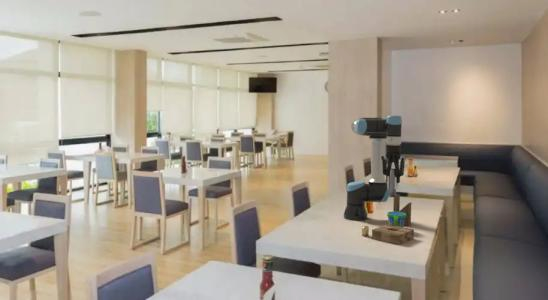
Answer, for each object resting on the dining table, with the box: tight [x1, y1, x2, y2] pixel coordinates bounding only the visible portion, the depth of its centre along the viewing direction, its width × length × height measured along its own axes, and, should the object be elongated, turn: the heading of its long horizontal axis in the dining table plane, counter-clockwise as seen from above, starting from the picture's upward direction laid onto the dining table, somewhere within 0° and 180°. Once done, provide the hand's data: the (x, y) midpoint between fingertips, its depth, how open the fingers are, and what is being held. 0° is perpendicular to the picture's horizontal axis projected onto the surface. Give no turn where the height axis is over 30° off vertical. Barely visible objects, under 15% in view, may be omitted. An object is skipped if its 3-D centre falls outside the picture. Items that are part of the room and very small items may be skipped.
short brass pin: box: [361, 225, 370, 237], centre depth 246 cm, size 4×4×5 cm
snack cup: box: [386, 210, 406, 228], centre depth 257 cm, size 16×10×10 cm
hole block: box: [371, 224, 415, 246], centre depth 240 cm, size 16×16×5 cm
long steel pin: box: [388, 167, 397, 198], centre depth 239 cm, size 4×4×15 cm
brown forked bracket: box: [392, 193, 412, 227], centre depth 272 cm, size 4×11×18 cm, turn 49°
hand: (392, 188), depth 239 cm, fingers closed on long steel pin, 4 cm apart
